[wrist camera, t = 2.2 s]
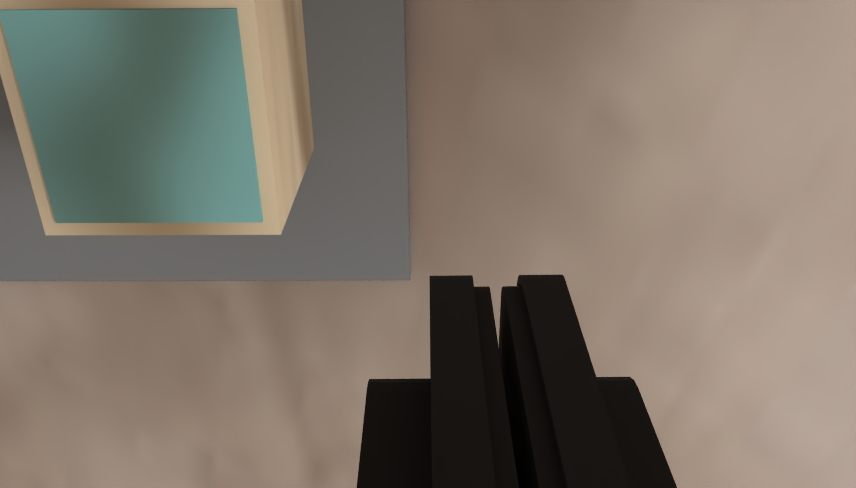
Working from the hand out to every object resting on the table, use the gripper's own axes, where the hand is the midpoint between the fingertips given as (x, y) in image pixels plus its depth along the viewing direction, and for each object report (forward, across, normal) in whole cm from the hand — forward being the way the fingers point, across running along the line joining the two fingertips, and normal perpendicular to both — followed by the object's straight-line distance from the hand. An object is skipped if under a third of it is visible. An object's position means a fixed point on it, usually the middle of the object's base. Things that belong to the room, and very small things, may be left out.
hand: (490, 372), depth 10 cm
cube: (+15, +7, 0) cm, 17 cm away
